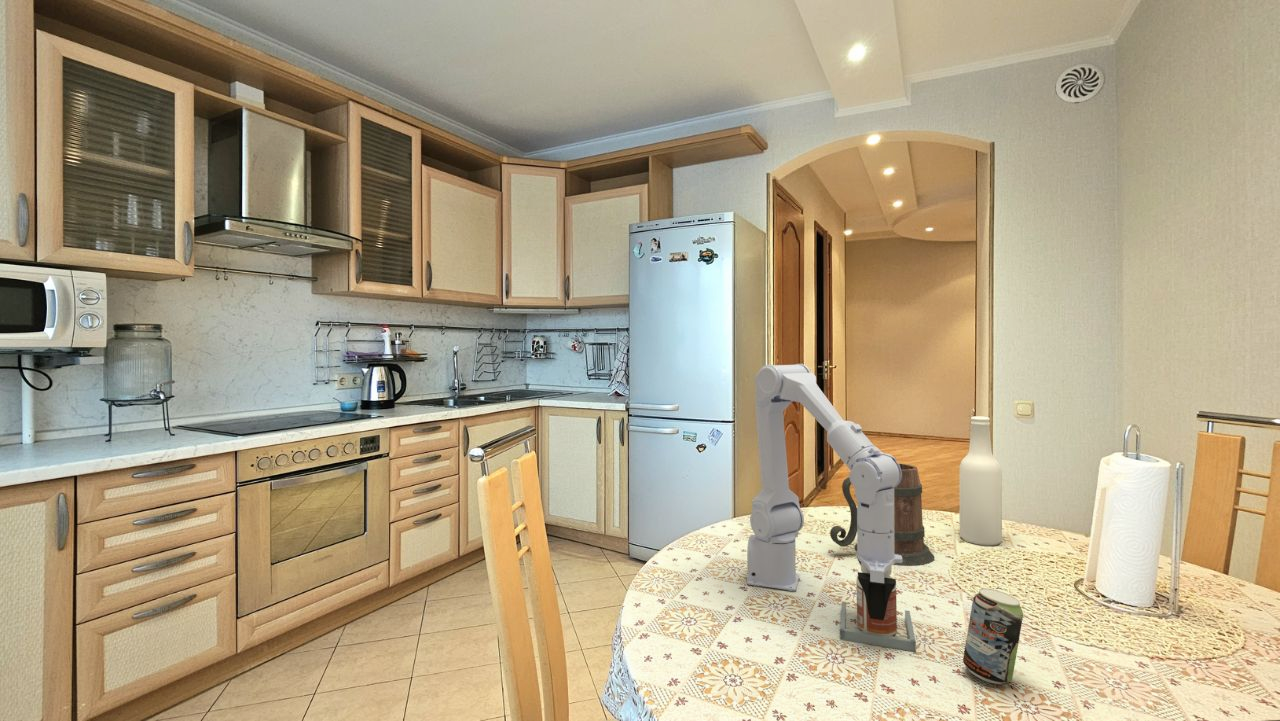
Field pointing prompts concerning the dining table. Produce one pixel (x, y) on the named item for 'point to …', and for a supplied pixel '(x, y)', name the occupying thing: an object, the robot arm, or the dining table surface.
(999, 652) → the beverage can
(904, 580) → the dining table surface
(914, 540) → the tankard
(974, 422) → the alcohol
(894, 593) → the pill bottle
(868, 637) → the bracket
